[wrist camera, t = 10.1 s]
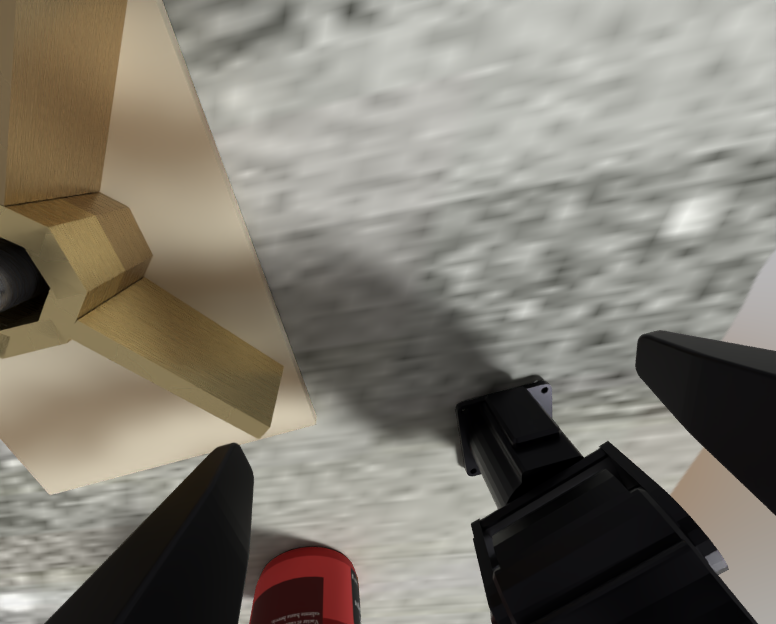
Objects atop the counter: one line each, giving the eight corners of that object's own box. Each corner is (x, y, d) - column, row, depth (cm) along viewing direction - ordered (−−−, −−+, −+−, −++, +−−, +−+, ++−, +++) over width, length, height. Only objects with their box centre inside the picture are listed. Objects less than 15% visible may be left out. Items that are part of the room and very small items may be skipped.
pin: (117, 263, 17) (-67, 349, 9) (72, 274, 17) (-147, 370, 9) (90, 215, 16) (-137, 270, 8) (42, 228, 16) (-227, 294, 8)
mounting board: (316, 415, 23) (316, 424, 22) (59, 483, 22) (49, 495, 21) (149, -33, 14) (139, -44, 13) (-302, 56, 13) (-340, 50, 12)
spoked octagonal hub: (286, 373, 20) (273, 435, 16) (122, 415, 20) (60, 492, 15) (124, -41, 13) (10, -150, 8) (-144, 12, 12) (-421, -73, 8)
